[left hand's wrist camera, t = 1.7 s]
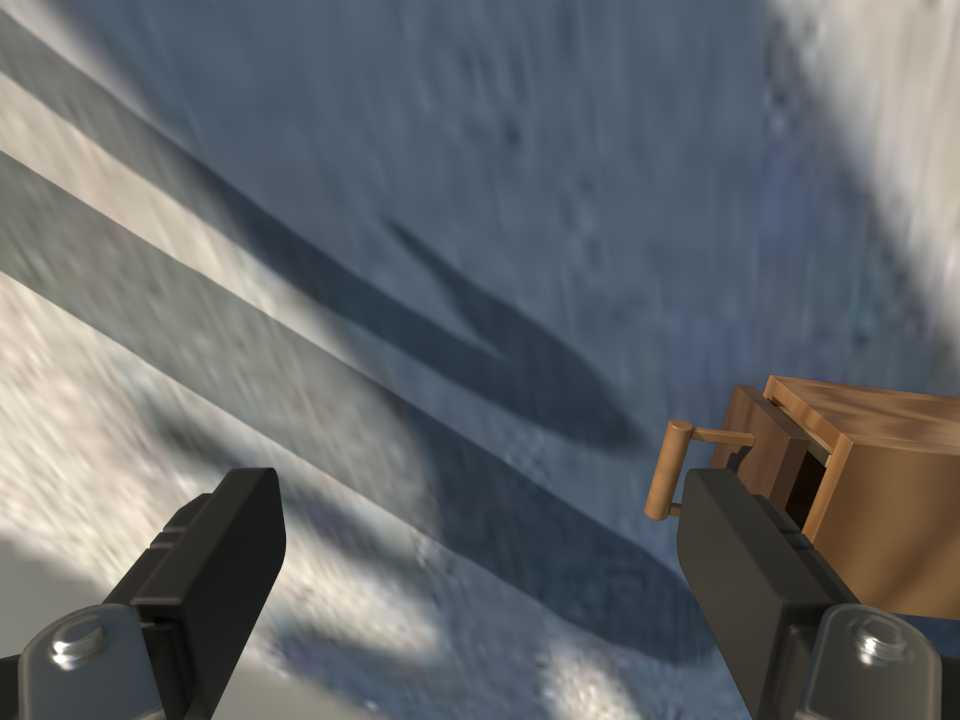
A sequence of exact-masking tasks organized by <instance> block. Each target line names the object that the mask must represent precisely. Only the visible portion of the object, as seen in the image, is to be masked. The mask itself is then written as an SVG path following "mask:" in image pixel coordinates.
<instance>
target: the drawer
mask: <svg viewBox="0 0 960 720" xmlns="http://www.w3.org/2000/svg"><path fill="white" fill-rule="evenodd" d="M690 438H691V439H693V440H701V441H709V442H717V445H716V448H715V451H714V455H713V458H712V461H711V464H710V467H709V469H731V470H733V471H734V473H735V474H736V475H737V476H738V478H739V479H740V480H741V482H742V483H743V484H744V486H745V487H746V488H747V489H748V491H749V492H750V493H751V495H762V496H764V497H765V498H767V499H768V500H770V501H771V502H773V503H774V504H776V505H777V506H779V507H780V508H782V509H783V510H785V511H786V512H787V514H788V515H789V516H790V517H791V518H792V520H793V521H794V522H795V523H796V525H797V526H798V527H799V528H800V529H801V533H802V530H803V527H804V525H805V522H806V520H807V517H808V515H809V512H810V510H811V507H812V505H813V502H814V500H815V497H816V495H817V492H818V490H819V487H820V485H821V482H822V480H823V477H824V475H825V472H826V469H827V467H828V464H829V462H830V459H831V457H832V454H833V452H834V449H832V448H831V447H830V446H829V445H828V444H827V443H826V442H824V441H823V440H822V439H821V438H820V437H819V436H818V435H817V434H815V433H814V432H813V431H812V430H811V429H810V428H809V427H808V426H806V425H805V424H804V423H803V422H802V421H801V420H800V419H798V418H797V417H796V416H795V415H794V414H793V413H792V412H791V411H789V410H788V409H787V408H786V407H779V406H776V407H775V406H774V405H773V404H771V403H770V402H769V401H768V400H767V399H766V398H765V397H764V396H763V395H762V394H761V393H759V392H758V391H757V390H756V389H755V388H754V387H753V386H745V385H737V384H736V385H735V388H734V391H733V394H732V397H731V400H730V404H729V407H728V410H727V413H726V416H725V419H724V423H723V426H722V429H721V430H715V429H707V428H699V427H693V426H692V425H691V424H690V423H688V422H686V421H683V420H679V419H672V420H670V421H669V423H668V427H667V430H666V434H665V438H664V441H663V445H662V448H661V452H660V456H659V459H658V463H657V467H656V470H655V474H654V477H653V481H652V485H651V488H650V492H649V496H648V499H647V503H646V506H645V513H646V515H647V516H649V517H650V518H652V519H655V520H665V519H666V518H667V516H668V514H669V515H671V516H680V511H681V504H677V503H671V502H672V499H673V495H674V492H675V488H676V485H677V482H678V478H679V475H680V471H681V468H682V465H683V461H684V458H685V454H686V451H687V448H688V444H689V441H690Z"/></svg>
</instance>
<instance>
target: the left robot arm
mask: <svg viewBox="0 0 960 720" xmlns="http://www.w3.org/2000/svg"><path fill="white" fill-rule="evenodd" d="M285 551H286V531H285V524H284V517H283V509H282V502H281V495H280V488H279V481H278V476H277V473H276V471H275V469H274V468H232V469H231V470H230V471H229V472H228V473H227V475H226V476H225V477H224V479H223V480H222V481H221V483H220V484H219V485H218V487H217V488H216V489H215V490H214V492H213V493H203V494H201V495H200V496H198V497H197V498H195V499H194V500H192V501H191V502H189V503H188V504H186V505H185V506H183V507H182V508H180V509H179V510H178V511H177V512H176V513H175V515H174V516H173V517H172V518H171V519H170V521H169V522H168V523H167V524H166V526H165V527H164V528H163V532H160V533H159V534H158V535H157V537H156V538H155V539H154V540H153V541H152V543H151V544H150V548H149V549H146V550H145V551H144V552H143V554H142V555H141V556H140V557H139V559H138V560H137V561H136V562H135V564H134V565H133V566H132V567H131V568H130V570H129V571H128V572H127V573H126V575H125V576H124V577H123V578H122V579H121V581H120V582H119V583H118V584H117V586H116V587H115V588H114V589H113V590H112V592H111V593H110V594H109V595H108V597H107V598H106V599H105V600H104V601H103V603H102V604H99V605H93V606H89V607H85V608H83V609H80V610H77V611H74V612H72V613H70V614H67V615H65V616H63V617H62V618H60V619H58V620H56V621H55V622H53V623H51V624H50V625H48V626H47V627H46V628H44V629H43V630H42V631H40V632H39V633H38V634H37V635H36V636H35V637H34V638H33V639H32V640H31V641H30V642H29V643H28V645H27V646H26V647H25V649H24V650H23V652H22V654H19V655H14V656H10V657H6V658H1V659H0V720H211V718H212V716H213V714H214V712H215V709H216V707H217V705H218V703H219V701H220V699H221V696H222V694H223V692H224V690H225V688H226V686H227V684H228V681H229V679H230V677H231V675H232V673H233V671H234V669H235V666H236V664H237V662H238V660H239V658H240V656H241V653H242V651H243V649H244V647H245V645H246V643H247V641H248V638H249V636H250V634H251V632H252V630H253V628H254V625H255V623H256V621H257V619H258V617H259V615H260V613H261V610H262V608H263V606H264V604H265V602H266V600H267V598H268V595H269V593H270V591H271V589H272V587H273V585H274V582H275V580H276V578H277V576H278V574H279V572H280V570H281V567H282V564H283V561H284V557H285ZM677 552H678V558H679V562H680V566H681V568H682V571H683V573H684V575H685V577H686V579H687V581H688V583H689V586H690V588H691V590H692V592H693V594H694V596H695V598H696V600H697V603H698V605H699V607H700V609H701V611H702V613H703V615H704V617H705V620H706V622H707V624H708V626H709V628H710V630H711V632H712V634H713V637H714V639H715V641H716V643H717V645H718V647H719V649H720V651H721V654H722V656H723V658H724V660H725V662H726V664H727V666H728V668H729V671H730V673H731V675H732V677H733V679H734V681H735V683H736V685H737V688H738V690H739V692H740V694H741V696H742V698H743V700H744V702H745V705H746V707H747V709H748V711H749V713H750V715H751V717H752V719H753V720H960V660H959V659H954V658H950V657H946V656H943V655H939V654H938V652H937V650H936V649H935V647H934V646H933V645H932V643H931V642H930V641H929V640H928V639H927V638H926V637H925V636H924V635H923V634H922V633H921V632H920V631H918V630H917V629H916V628H914V627H913V626H912V625H910V624H909V623H907V622H906V621H904V620H902V619H900V618H898V617H897V616H895V615H893V614H890V613H888V612H886V611H883V610H880V609H877V608H875V607H871V606H867V605H862V603H861V602H860V601H859V600H858V599H857V597H856V596H855V595H854V594H853V592H852V591H851V590H850V589H849V588H848V586H847V585H846V584H845V583H844V582H843V580H842V579H841V578H840V577H839V575H838V574H837V573H836V572H835V571H834V569H833V568H832V567H831V566H830V565H829V563H828V562H827V561H826V560H825V559H824V557H823V556H822V555H821V554H820V552H819V551H818V550H815V549H814V545H813V544H812V543H811V542H810V540H809V539H808V538H807V537H806V535H805V534H801V529H800V528H799V527H798V526H797V525H796V523H795V522H794V521H793V520H792V518H791V517H790V516H789V515H788V514H787V512H786V511H785V510H783V509H782V508H780V507H779V506H777V505H776V504H774V503H773V502H771V501H770V500H768V499H767V498H765V497H764V496H762V495H751V493H750V492H749V491H748V489H747V488H746V487H745V486H744V484H743V483H742V482H741V480H740V479H739V478H738V476H737V475H736V474H735V473H734V471H733V470H731V469H690V470H689V471H688V472H687V474H686V477H685V483H684V490H683V497H682V504H681V511H680V518H679V525H678V532H677Z"/></svg>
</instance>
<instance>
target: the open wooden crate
mask: <svg viewBox="0 0 960 720" xmlns="http://www.w3.org/2000/svg"><path fill="white" fill-rule="evenodd" d="M763 396H764V397H765V398H766V399H767V400H768V401H769V402H770V403H771V404H773V405H774V406H775V407H776V406H779V407H786V408H787V409H788V410H789V411H791V412H792V413H793V414H794V415H795V416H796V417H797V418H798V419H800V420H801V421H802V422H803V423H804V424H805V425H806V426H808V427H809V428H810V429H811V430H812V431H813V432H814V433H815V434H817V435H818V436H819V437H820V438H821V439H822V440H823V441H824V442H826V443H827V444H828V445H829V446H830V447H831V448H832V449H834V452H833V454H832V457H831V459H830V462H829V464H828V467H827V469H826V472H825V475H824V477H823V480H822V482H821V485H820V487H819V490H818V492H817V495H816V497H815V500H814V502H813V505H812V507H811V510H810V512H809V515H808V517H807V520H806V522H805V525H804V527H803V530H802V533H801V534H805V535H806V537H807V538H808V539H809V540H810V542H811V543H812V544H813V545H814V549H815V550H818V551H819V552H820V554H821V555H822V556H823V557H824V559H825V560H826V561H827V562H828V563H829V565H830V566H831V567H832V568H833V569H834V571H835V572H836V573H837V574H838V575H839V577H840V578H841V579H842V580H843V582H844V583H845V584H846V585H847V586H848V588H849V589H850V590H851V591H852V592H853V594H854V595H855V596H856V597H857V599H858V600H859V601H860V602H861V603H862V605H867V606H871V607H875V608H877V609H880V610H883V611H886V612H888V613H895V614H904V615H914V616H923V617H932V618H941V619H950V620H959V621H960V399H958V398H951V397H943V396H935V395H927V394H919V393H911V392H903V391H895V390H887V389H879V388H871V387H863V386H856V385H848V384H840V383H832V382H824V381H816V380H808V379H800V378H792V377H784V376H776V375H770V376H769V379H768V382H767V385H766V388H765V391H764V394H763Z"/></svg>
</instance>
